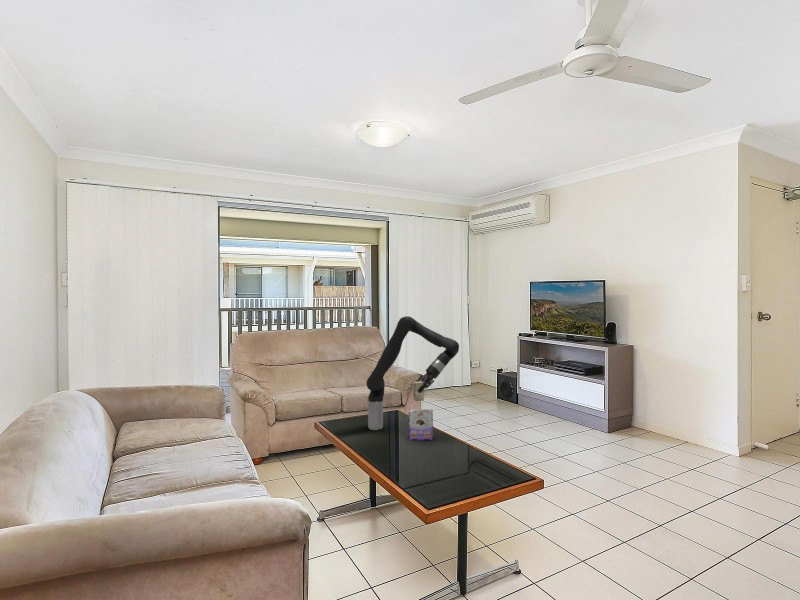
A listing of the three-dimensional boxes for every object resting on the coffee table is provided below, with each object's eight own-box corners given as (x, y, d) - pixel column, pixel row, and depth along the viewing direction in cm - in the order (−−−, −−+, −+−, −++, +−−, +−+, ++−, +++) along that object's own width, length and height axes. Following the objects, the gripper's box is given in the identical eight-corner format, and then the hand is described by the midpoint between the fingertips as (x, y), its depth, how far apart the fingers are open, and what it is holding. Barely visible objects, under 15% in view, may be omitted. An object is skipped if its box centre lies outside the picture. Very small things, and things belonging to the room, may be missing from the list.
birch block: (413, 399, 256) (413, 382, 256) (420, 398, 258) (420, 381, 258) (416, 401, 252) (416, 383, 252) (423, 400, 254) (423, 382, 254)
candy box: (432, 437, 260) (433, 409, 260) (432, 440, 254) (432, 411, 254) (409, 436, 262) (409, 408, 262) (408, 439, 256) (408, 411, 256)
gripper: (425, 362, 265) (407, 384, 260) (437, 366, 251) (417, 389, 247) (433, 371, 267) (415, 393, 262) (445, 374, 254) (426, 398, 249)
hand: (416, 391), depth 254 cm, fingers closed on birch block, 4 cm apart
